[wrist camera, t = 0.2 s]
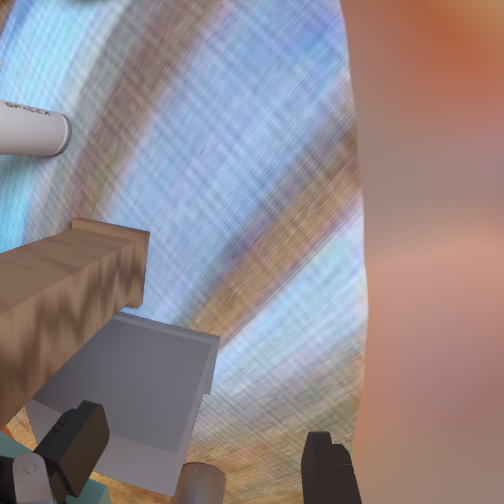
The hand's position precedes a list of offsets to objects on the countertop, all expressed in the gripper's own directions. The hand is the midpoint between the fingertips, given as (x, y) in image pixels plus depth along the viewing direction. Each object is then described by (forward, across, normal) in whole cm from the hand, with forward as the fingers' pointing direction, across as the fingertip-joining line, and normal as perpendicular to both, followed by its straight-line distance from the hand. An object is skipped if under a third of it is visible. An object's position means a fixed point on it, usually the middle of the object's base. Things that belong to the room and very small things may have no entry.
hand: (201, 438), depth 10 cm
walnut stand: (+30, -19, -2) cm, 35 cm away
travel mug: (+30, -29, +15) cm, 44 cm away
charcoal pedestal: (+30, -12, -15) cm, 36 cm away
